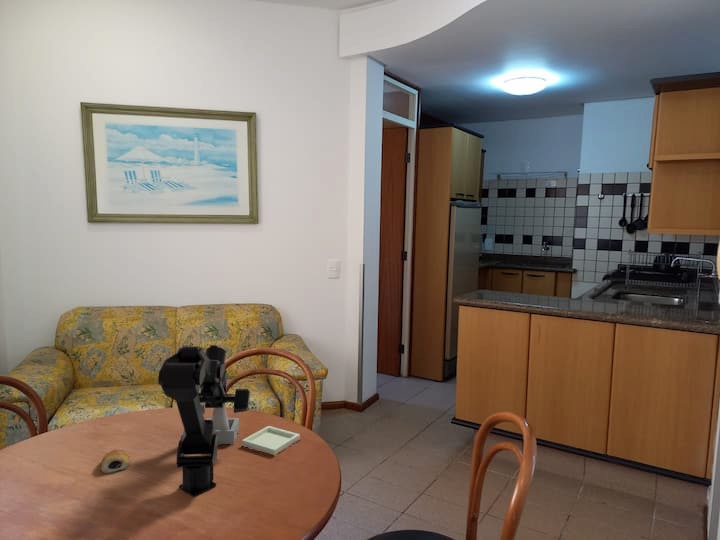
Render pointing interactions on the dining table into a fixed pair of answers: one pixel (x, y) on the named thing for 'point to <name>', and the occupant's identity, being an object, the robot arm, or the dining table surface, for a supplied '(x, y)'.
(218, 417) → the salt shaker
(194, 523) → the dining table surface
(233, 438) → the holder
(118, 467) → the pastry
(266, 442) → the tray
